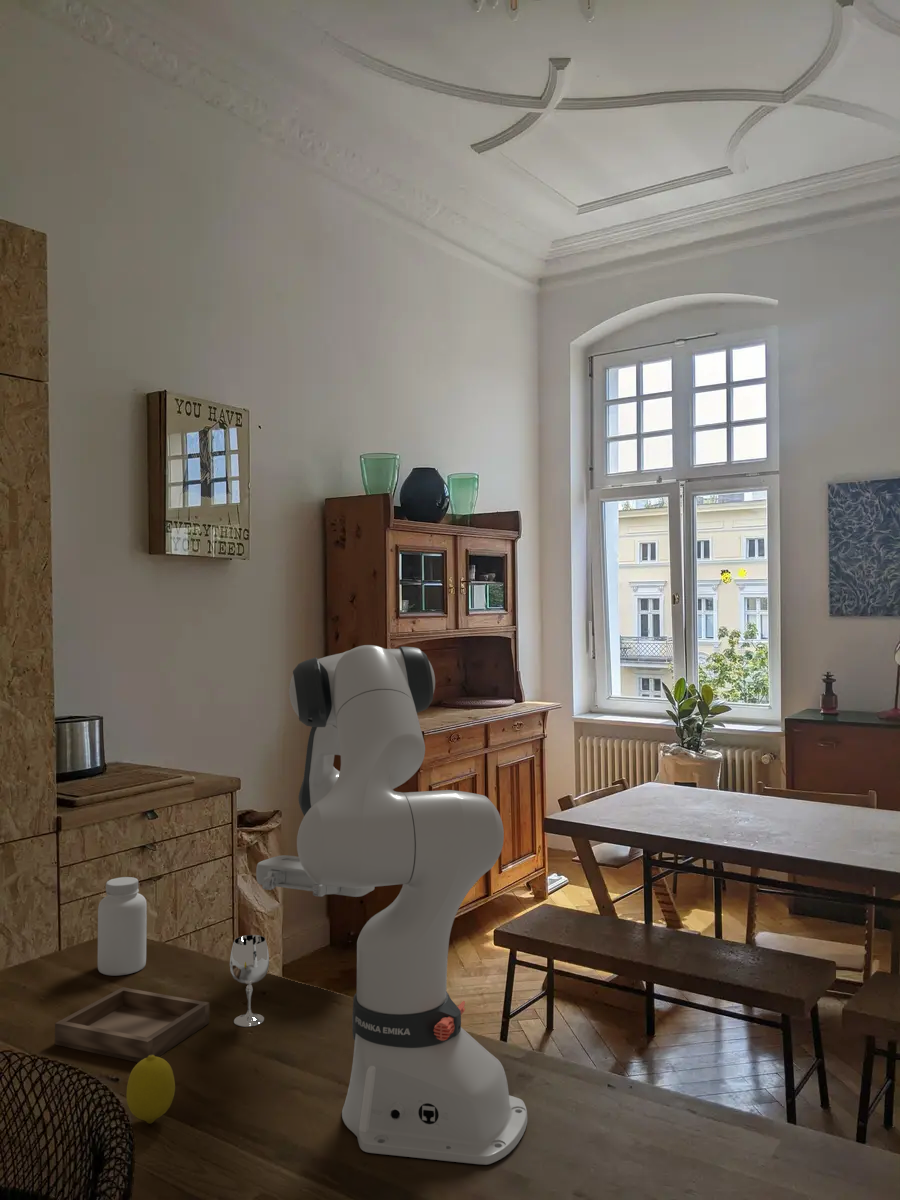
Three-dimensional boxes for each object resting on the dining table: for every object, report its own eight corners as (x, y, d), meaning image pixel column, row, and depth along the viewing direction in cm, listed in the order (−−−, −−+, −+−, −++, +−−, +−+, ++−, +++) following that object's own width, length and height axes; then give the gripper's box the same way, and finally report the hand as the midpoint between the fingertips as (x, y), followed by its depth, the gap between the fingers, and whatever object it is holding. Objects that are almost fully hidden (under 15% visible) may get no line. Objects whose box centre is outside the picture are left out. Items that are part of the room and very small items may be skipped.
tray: (209, 1023, 141) (209, 1002, 141) (147, 1064, 128) (147, 1041, 128) (122, 1006, 146) (122, 987, 147) (54, 1044, 133) (55, 1023, 133)
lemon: (157, 1106, 117) (157, 1040, 117) (183, 1121, 113) (184, 1054, 113) (116, 1124, 113) (117, 1056, 113) (142, 1140, 109) (144, 1071, 109)
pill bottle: (87, 975, 159) (89, 886, 160) (112, 958, 167) (113, 873, 167) (131, 978, 158) (132, 888, 158) (154, 961, 166) (155, 875, 166)
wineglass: (276, 1018, 143) (277, 938, 143) (249, 1032, 138) (250, 949, 138) (248, 1009, 146) (249, 931, 146) (221, 1022, 141) (222, 941, 141)
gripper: (280, 843, 170) (236, 861, 157) (383, 854, 163) (346, 875, 150) (279, 878, 170) (236, 899, 157) (383, 891, 163) (346, 915, 150)
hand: (291, 888), depth 154 cm, fingers open, 8 cm apart
